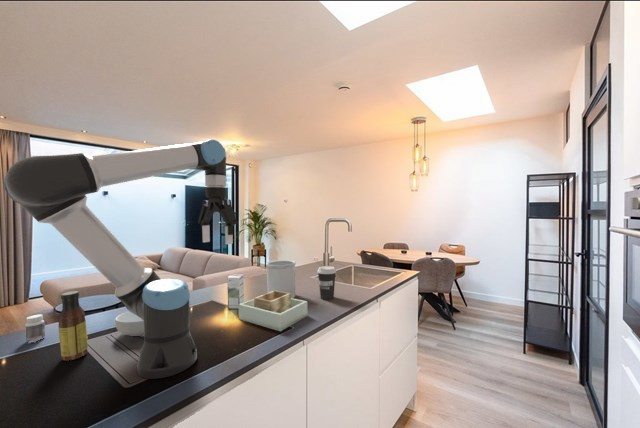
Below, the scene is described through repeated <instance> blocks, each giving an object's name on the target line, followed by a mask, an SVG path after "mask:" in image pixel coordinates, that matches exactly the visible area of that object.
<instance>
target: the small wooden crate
mask: <svg viewBox="0 0 640 428" xmlns="http://www.w3.org/2000/svg"><path fill="white" fill-rule="evenodd" d="M253 299H254V307H256V308H260V309H264V310H268V311H272V312H276V313H282V312H284V311H286V310H288V309H290V308H291V293H286V292H280V291H275V290H274V291H272V292H269V293H268V292H266V293H265V294H262V295H259V296H256V297H254V298H253Z"/></svg>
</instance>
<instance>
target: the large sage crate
mask: <svg viewBox="0 0 640 428" xmlns="http://www.w3.org/2000/svg"><path fill="white" fill-rule="evenodd" d="M308 315H309V314H308V301H307V300H302V299H297V298H291V308H290V309H288V310H286V311H284V312H282V313H276V312H272V311H268V310H264V309H260V308H256V307H254V298H252V299H250V300H246V301H244V303H241V304H239V309H238V320H241V321H244V322H247V323H251V324H254V325H258V326H261V327H264V328H267V329H271V330H274V331H278V332H282V331H283V330H286V329H287V328H289V327H291V326H293V325H294V324H296V323H298V322H299V321H301V320H302V319H305V318H306V317H308Z"/></svg>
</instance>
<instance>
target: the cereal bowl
mask: <svg viewBox="0 0 640 428" xmlns="http://www.w3.org/2000/svg"><path fill="white" fill-rule="evenodd" d="M114 322H115V324H114V325H115V328H116V330H117V331H118V332H119V333H120V334H122V335H126V336H131V335H132V336H131V337H133V336H141V337H144V336H143V335H144V321H143V320H142V319H141V318H140V317H138V316H137V315H135V314H133V313H131V312H130V311H129V310H127V311H125V312H122V313H120V314H118V315H117V316H116V317H115V320H114Z"/></svg>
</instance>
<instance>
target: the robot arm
mask: <svg viewBox="0 0 640 428" xmlns="http://www.w3.org/2000/svg"><path fill="white" fill-rule="evenodd" d="M226 154H227V153H226V148H225V147H224V146H223V144H222V143H221V142H220V141H218V140H216V139H205V140H203V141H197V142H191V143H183V144H174V145H168V146H167V145H166V146H160V147H158V146H157V147H153V148H145V149H137V150H131V151H129V150H128V151H123V152H121V151H120V152H114V153H107V154H106V153H105V154H98V155H91V156H90V155H87V154H86V153H83V152H80V153H79V152H78V153H70V154H69V153H68V154H58V155H57V154H56V155H55V154H54V155H37V156H28V157H24V158H22V159H20V160H18V161H16V162H15V163H13V164H12V165H11V166H10V167H9V169H8V171H7V173H6V174H5V176H4V180H3V186H4V188H3V189H4V190H5V193H6V195H7V196H8V197H9V198H10V199H12V201H13V202H15V203H18V205H20V206H21V207H22V208H23V209H24V210H25V211H26V212H27V213H28V214H29V215H30V216H31V217H33V218H34V220H35V221H37V222H38V223H42V224H49V225H51V226H52V227H54V229H55V230H56V231H57V232H58V233H60V234H61V236H62V237H63V238H65V239H66V241H68V243H70V244H71V245H72V246H73V247H74V248H75V249H76V251H78V252H79V253H80V254H81V255H82V256H83V257H84V258H85V259H86V260H87V261H88V262H89V263H90V264H91V265H92V266H93V267H94V268H95V269H96V270H97V271H98V272H100V274H102V275H103V277H104V278H106V280H108V281H109V282H110V283H111V285H113V286H114V287H115V291H114V296H115V297H116V298H117V299H118V300H119V301H121V303H122V304H123V305H124V306H125V308H126V309H127V311H130V312H131V313H133V314H135V315H137V316H138V317H140V318H141V319H142V320H143V321H144V336H143V345H142V347H141V350H140V354H139V356H138V359H137V363H136V364H137V365H136V367H137V368H136V371H137V375H138V376H139V377H141V378H143V379H149V380H150V379H151V380H156V379H164V378H167V377H168V378H169V377H172V376H175V375H177V374H179V373H182V372H183V371H186V370H188V369H189V368H190V367H191V366H193V365H194V364H195V363H196V361H197V359H198V352H197V347H196V344H195V341H194V339H193V336H192V334H191V325H190V323H191V320H190V319H191V318H190V316H191V315H190V297H191V294H190V293H191V292H190V290H189V284H188V283H187V282H186V281H185V280H183V279H177V278H175V279H174V278H163V279H162V278H161V277H160V276H159V275H158V274H157V273H156V271H155V270H154V269H152V267H144V266H142V265H141V263H140V262H138V260H137V259H136V258H135V257H134V256H133V255H132V253H130V252H129V250H128V249H127V248H126V247H125V246H124V245H123V244H122V243H121V241H119V240H118V239H117V237H116V236H115V235H114V234H113V233H112V232H111V230H109V229H108V227H106V226H105V224H104V223H103V222H102V221H101V220H100V218H98V217H97V216H96V215H95V213H94V212H93V211H92V210H91V209H90V208H89V207H88V206H87V200H88V197H87V195H90V194H94V193H98V192H99V191H100V189H101V188H104V187H107V186H113V185H117V184H124V183H126V182H127V183H128V182H132V181H137V180H141V179H142V180H143V179H146V178H153V177H157V176H162V175H166V174H171V173H175V172H181V171H185V170H197V171H204V177H205V178H204V183H205V187H206V188H205V197H206V199H207V200H206V199H204V200H202V203H201V205H202V206H201V210H200V214H199V216H198V221H197V223H198V224H200V225H201V233H202V234H201V235H202V236H201V237H202V243H210V242H211V236H210V235H211V233H210V232H211V231H210V230H211V229H210V226H211V225H210V221H211V220H212V218H213V216H214V214H215V213H216V212H218V213H219V215H220V216H221V218H222V219H223V221H224V223H225V226H224V231H225V232H224V235H225V237H224V239H225V245H232V244H233V243H234V242H233V241H234V238H233V237H234V226H235V225H238V220H237V217H236V214H235V212H234V208H233V206H232V200H231V199H228V198H227V195H228V194H227V189H228V188H227V155H226ZM225 198H226V199H225Z"/></svg>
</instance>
